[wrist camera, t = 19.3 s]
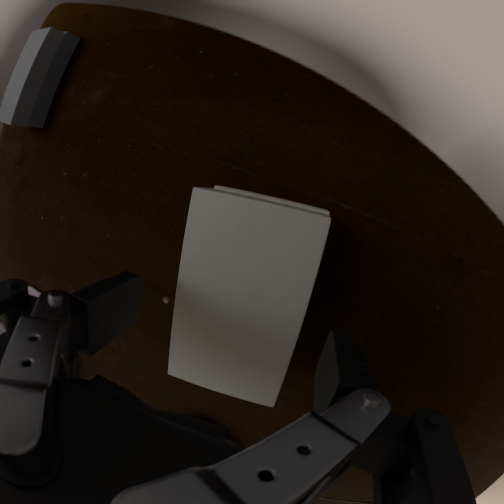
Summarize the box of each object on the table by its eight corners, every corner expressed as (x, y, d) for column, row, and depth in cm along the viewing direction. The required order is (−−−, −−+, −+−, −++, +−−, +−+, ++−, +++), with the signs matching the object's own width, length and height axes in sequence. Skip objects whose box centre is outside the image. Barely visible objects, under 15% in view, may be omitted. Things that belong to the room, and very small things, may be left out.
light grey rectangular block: (212, 187, 15) (192, 186, 12) (327, 214, 14) (331, 218, 11) (185, 352, 17) (167, 374, 14) (278, 380, 16) (273, 407, 14)
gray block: (60, 39, 19) (33, 28, 14) (80, 38, 18) (52, 23, 14) (25, 124, 21) (-4, 120, 17) (42, 129, 21) (10, 124, 16)
